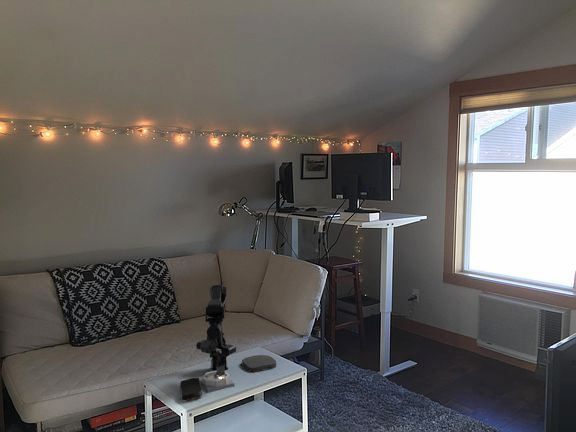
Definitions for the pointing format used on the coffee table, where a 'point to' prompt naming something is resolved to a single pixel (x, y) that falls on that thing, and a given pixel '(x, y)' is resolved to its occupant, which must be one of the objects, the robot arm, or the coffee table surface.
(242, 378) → the coffee table surface
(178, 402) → the coffee table surface
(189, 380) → the black sponge
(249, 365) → the media streaming box
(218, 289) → the robot arm
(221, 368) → the dial
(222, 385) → the dial panel
